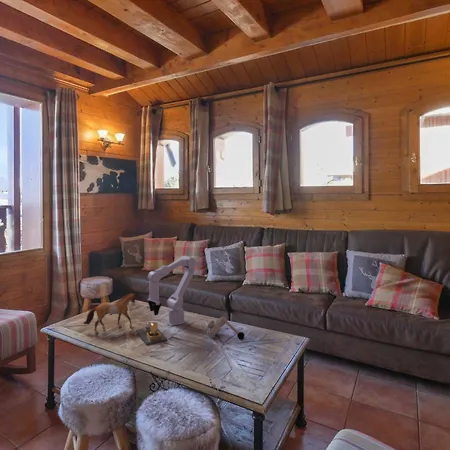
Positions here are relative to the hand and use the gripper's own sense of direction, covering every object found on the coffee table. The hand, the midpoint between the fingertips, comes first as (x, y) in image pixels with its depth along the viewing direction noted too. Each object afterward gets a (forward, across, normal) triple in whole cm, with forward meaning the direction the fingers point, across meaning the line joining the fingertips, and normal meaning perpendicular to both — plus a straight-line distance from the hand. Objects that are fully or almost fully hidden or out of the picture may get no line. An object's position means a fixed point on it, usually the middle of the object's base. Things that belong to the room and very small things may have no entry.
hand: (154, 312), depth 198 cm
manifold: (+10, +9, -5) cm, 14 cm away
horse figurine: (+10, -14, -23) cm, 29 cm away
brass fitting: (+9, +14, -5) cm, 17 cm away
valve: (+10, +32, +32) cm, 46 cm away
